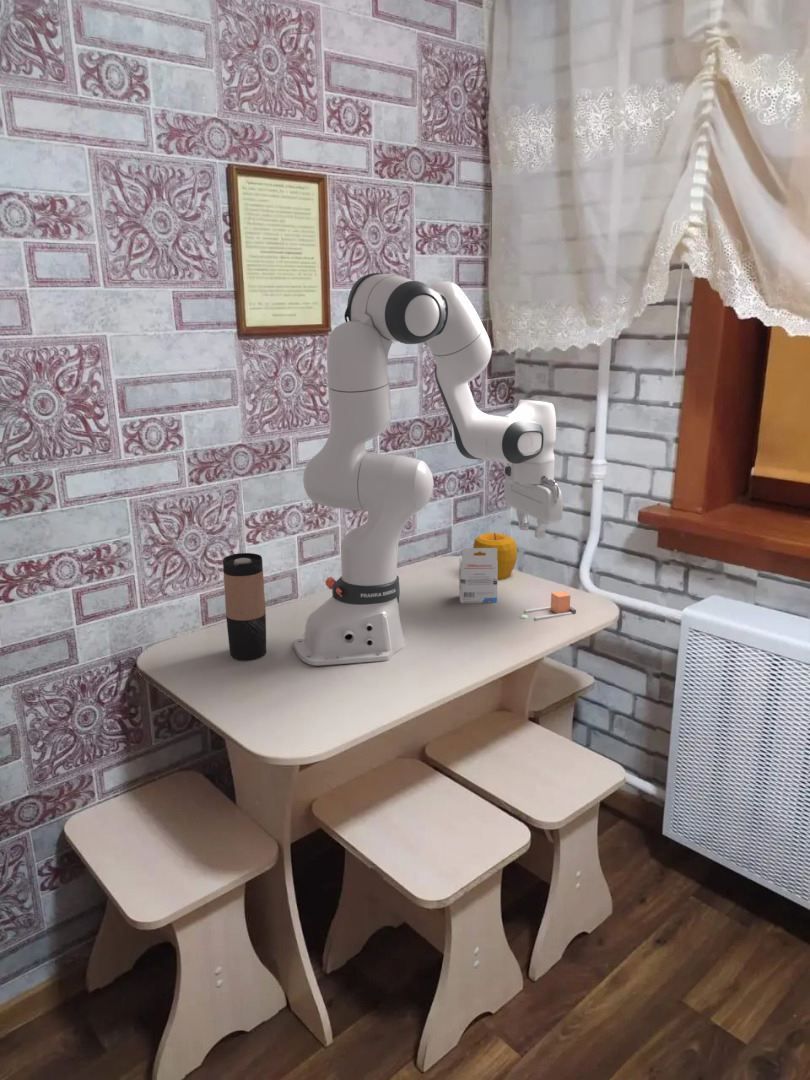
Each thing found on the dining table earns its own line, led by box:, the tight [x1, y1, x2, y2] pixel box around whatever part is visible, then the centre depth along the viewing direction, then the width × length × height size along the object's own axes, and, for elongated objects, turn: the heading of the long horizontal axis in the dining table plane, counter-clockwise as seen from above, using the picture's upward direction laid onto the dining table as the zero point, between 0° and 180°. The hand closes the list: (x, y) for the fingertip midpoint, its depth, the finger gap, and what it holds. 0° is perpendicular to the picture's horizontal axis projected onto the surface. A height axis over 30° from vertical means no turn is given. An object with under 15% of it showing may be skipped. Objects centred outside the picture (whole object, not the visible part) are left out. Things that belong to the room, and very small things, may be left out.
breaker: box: [550, 590, 571, 614], centre depth 175 cm, size 3×3×4 cm
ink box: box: [458, 547, 498, 604], centre depth 182 cm, size 8×5×15 cm, turn 91°
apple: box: [472, 532, 518, 581], centre depth 199 cm, size 11×11×13 cm
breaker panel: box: [519, 605, 577, 621], centre depth 178 cm, size 12×15×3 cm
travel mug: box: [222, 552, 267, 662], centre depth 155 cm, size 8×8×20 cm
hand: (531, 533), depth 177 cm, fingers open, 6 cm apart
